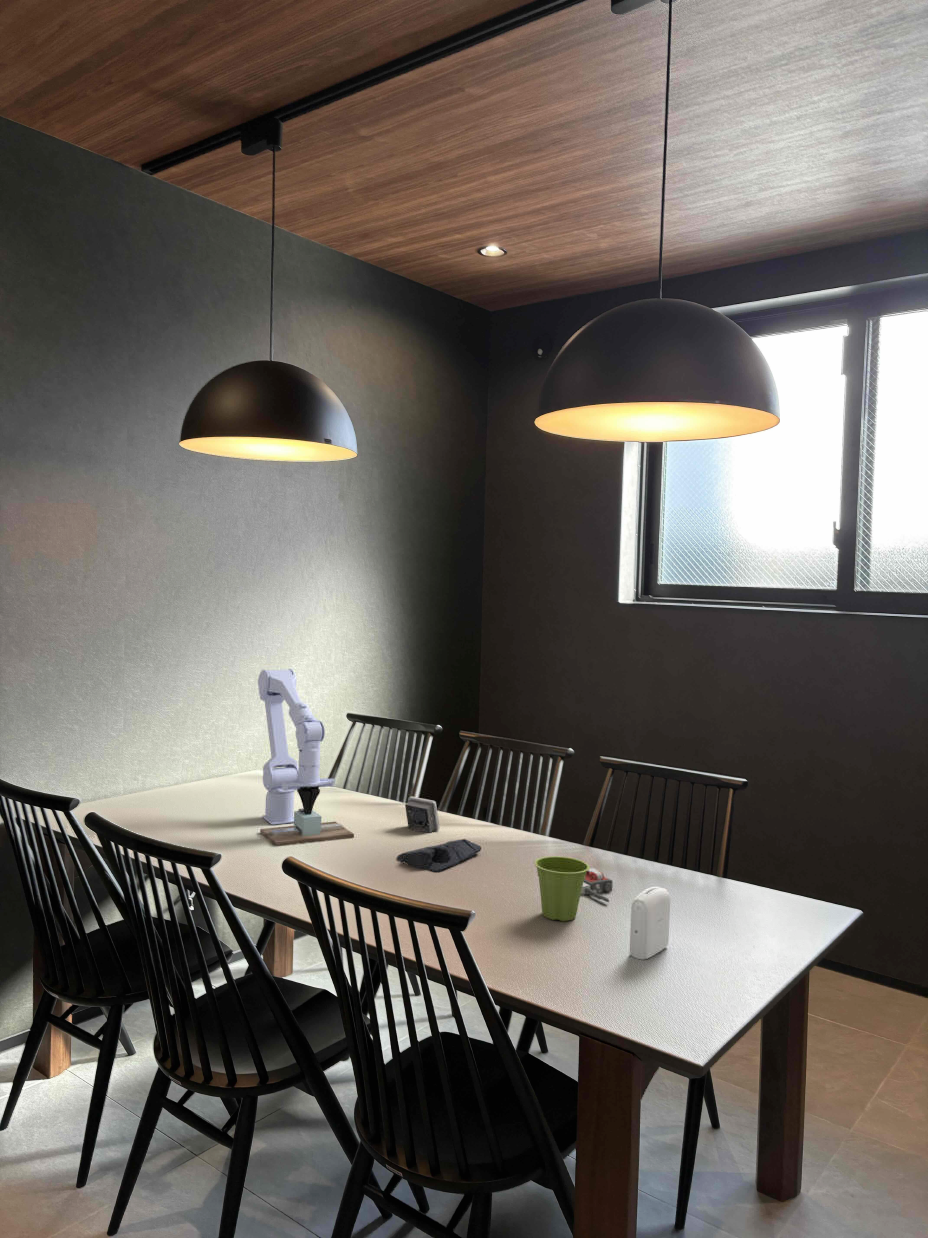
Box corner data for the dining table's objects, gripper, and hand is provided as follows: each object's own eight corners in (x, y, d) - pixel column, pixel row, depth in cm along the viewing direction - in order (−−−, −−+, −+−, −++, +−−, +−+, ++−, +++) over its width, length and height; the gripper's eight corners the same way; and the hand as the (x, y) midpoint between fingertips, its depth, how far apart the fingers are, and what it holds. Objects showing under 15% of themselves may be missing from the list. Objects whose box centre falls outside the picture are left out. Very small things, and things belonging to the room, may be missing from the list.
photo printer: (645, 962, 172) (648, 898, 171) (626, 956, 174) (628, 892, 174) (671, 947, 180) (674, 885, 179) (651, 941, 182) (654, 880, 182)
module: (293, 828, 251) (294, 809, 251) (310, 827, 254) (311, 807, 253) (303, 836, 244) (303, 815, 244) (320, 834, 247) (321, 814, 246)
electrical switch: (440, 831, 259) (439, 799, 258) (429, 836, 254) (429, 804, 253) (413, 825, 264) (413, 794, 263) (403, 830, 259) (402, 799, 258)
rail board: (260, 832, 250) (260, 825, 250) (335, 825, 261) (335, 818, 260) (275, 846, 238) (276, 838, 238) (353, 837, 248) (354, 830, 248)
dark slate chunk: (491, 857, 236) (491, 839, 236) (434, 876, 220) (435, 856, 219) (447, 845, 246) (447, 827, 246) (389, 862, 229) (390, 843, 229)
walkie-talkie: (552, 880, 219) (603, 908, 202) (553, 862, 219) (604, 888, 202) (582, 876, 223) (634, 902, 206) (582, 858, 223) (635, 883, 206)
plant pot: (572, 930, 186) (575, 876, 186) (522, 917, 193) (524, 865, 192) (596, 914, 196) (598, 863, 196) (547, 902, 203) (549, 852, 202)
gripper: (288, 769, 241) (286, 820, 242) (339, 766, 248) (337, 815, 249) (280, 764, 247) (278, 814, 248) (330, 761, 255) (328, 809, 255)
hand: (307, 814), depth 249 cm, fingers closed, pressing on module
